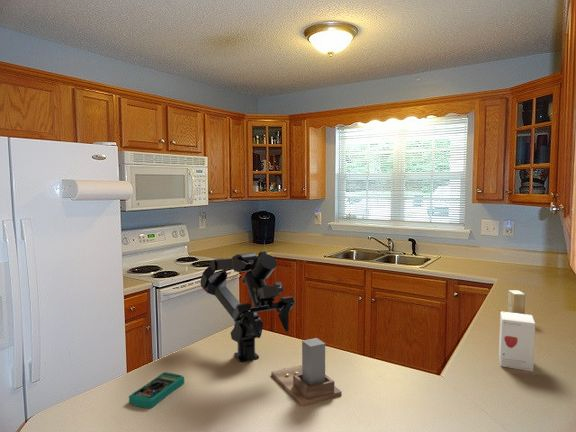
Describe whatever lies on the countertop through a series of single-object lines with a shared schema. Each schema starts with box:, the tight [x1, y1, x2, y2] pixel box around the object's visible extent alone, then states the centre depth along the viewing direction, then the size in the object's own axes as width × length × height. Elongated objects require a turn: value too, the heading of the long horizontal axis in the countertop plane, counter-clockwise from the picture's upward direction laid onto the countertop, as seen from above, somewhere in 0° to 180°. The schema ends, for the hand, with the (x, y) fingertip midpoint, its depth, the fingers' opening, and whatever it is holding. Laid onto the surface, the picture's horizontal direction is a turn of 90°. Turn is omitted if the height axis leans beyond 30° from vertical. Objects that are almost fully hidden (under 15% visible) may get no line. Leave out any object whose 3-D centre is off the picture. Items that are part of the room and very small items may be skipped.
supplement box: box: [498, 311, 536, 373], centre depth 126 cm, size 9×9×15 cm
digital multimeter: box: [128, 371, 185, 409], centre depth 109 cm, size 7×15×3 cm, turn 159°
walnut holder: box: [270, 364, 343, 407], centre depth 113 cm, size 19×12×4 cm, turn 26°
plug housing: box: [301, 337, 326, 386], centre depth 108 cm, size 4×4×13 cm
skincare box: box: [507, 289, 527, 314], centre depth 165 cm, size 6×4×12 cm
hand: (273, 334), depth 116 cm, fingers open, 9 cm apart
